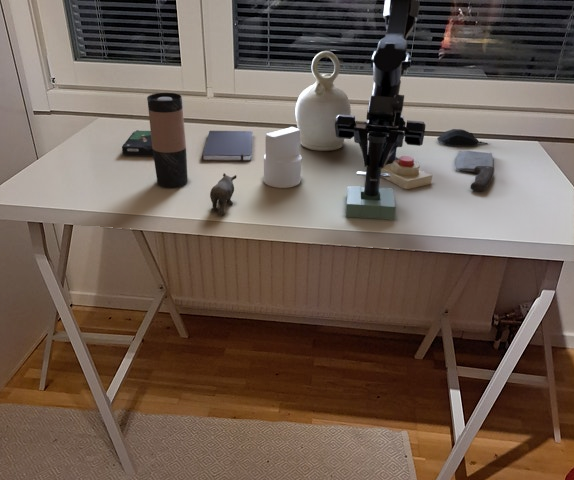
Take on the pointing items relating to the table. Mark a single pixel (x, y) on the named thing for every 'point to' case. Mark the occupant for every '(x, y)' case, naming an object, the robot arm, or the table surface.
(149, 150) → the disk drive
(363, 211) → the green square frame
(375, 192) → the black flanged tube
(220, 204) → the rhino figurine
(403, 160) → the button
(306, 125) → the white bell
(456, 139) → the gaming mouse
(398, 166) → the panel
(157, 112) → the travel mug
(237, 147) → the notebook
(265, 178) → the cylinder with rectangular tab
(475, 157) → the cleaver
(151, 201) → the table surface
